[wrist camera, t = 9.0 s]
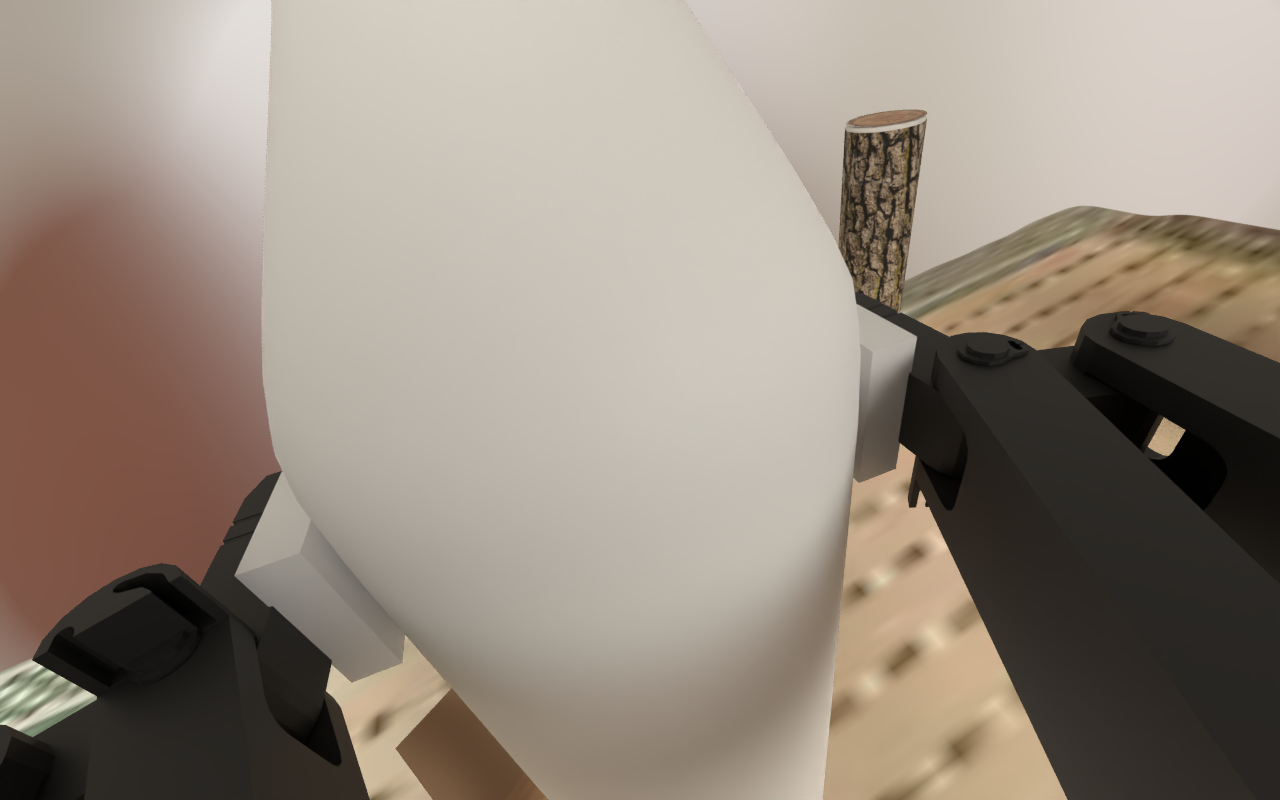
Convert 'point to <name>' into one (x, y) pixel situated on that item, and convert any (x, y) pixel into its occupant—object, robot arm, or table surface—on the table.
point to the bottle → (567, 379)
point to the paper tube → (880, 200)
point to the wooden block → (463, 757)
